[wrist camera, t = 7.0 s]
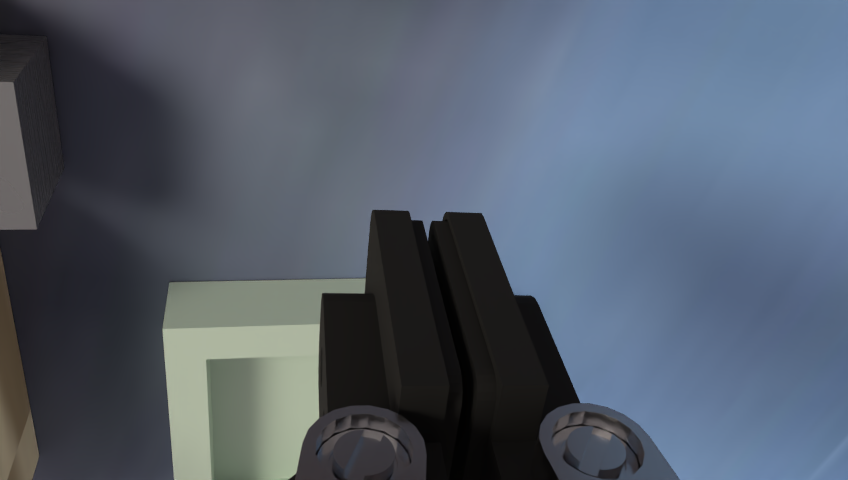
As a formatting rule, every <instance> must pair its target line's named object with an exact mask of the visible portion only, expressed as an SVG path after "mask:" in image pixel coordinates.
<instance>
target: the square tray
mask: <svg viewBox="0 0 848 480" xmlns="http://www.w3.org/2000/svg"><path fill="white" fill-rule="evenodd" d="M365 282H366V278H362V279H311V280H260V281H209V282H169V288H168V295H167V302H166V309H165V315H164V322H163V342H164V355H165V368H166V381H167V394H168V407H169V420H170V433H171V446H172V459H173V472H174V480H288V479H290V478H291V477H292V476H294V475H295V474H296V472H297V467H298V462H299V457H300V452H301V447H302V443H303V440H304V438H305V436H306V433H307V431H308V429H309V428H310V427H311V426H312V425H313V424H314V423H315V422H316V421H317V420H318V419H319V388H318V365H319V332H320V312H321V298H322V293H365Z"/></svg>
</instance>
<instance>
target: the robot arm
mask: <svg viewBox="0 0 848 480" xmlns="http://www.w3.org/2000/svg"><path fill="white" fill-rule="evenodd" d="M318 388H319V419H318V420H317V421H316V422H315V423H314V424H313V425H312V426H311V427H310V428H309V429H308V431H307V433H306V436H305V438H304V440H303V443H302V447H301V452H300V457H299V462H298V467H297V472H296V474H295V475H294V476H292V477H291V478H290V479H288V480H680V479H679V478H678V476H677V475H676V473H675V472H674V471H673V469H672V468H671V466H670V465H669V463H668V462H667V461H666V459H665V458H664V456H663V455H662V453H661V452H660V451H659V449H658V448H657V446H656V445H655V444H654V442H653V441H652V439H651V438H650V436H649V435H648V434H647V433H646V432H645V431H644V430H643V429H642V428H641V427H640V426H639V424H637V423H636V422H634V421H633V420H631V419H630V418H628V417H627V416H626V415H624V414H622V413H620V412H617V411H615V410H613V409H610V408H608V407H604V406H599V405H595V404H590V403H580V401H579V399H578V397H577V394H576V392H575V389H574V387H573V385H572V382H571V380H570V378H569V375H568V373H567V371H566V368H565V366H564V364H563V361H562V359H561V357H560V354H559V352H558V349H557V347H556V345H555V342H554V340H553V338H552V335H551V333H550V331H549V328H548V326H547V324H546V321H545V319H544V317H543V314H542V312H541V309H540V307H539V305H538V303H537V301H536V299H535V298H534V297H532V296H519V295H514V294H513V292H512V289H511V286H510V284H509V281H508V279H507V276H506V273H505V271H504V268H503V266H502V263H501V261H500V258H499V255H498V253H497V250H496V248H495V245H494V243H493V240H492V237H491V235H490V232H489V230H488V227H487V224H486V222H485V219H484V217H483V215H482V213H460V212H446V213H445V214H444V217H443V221H432V222H431V225H430V230H429V238H428V240H427V236H426V232H425V229H424V225H423V222H422V221H418V220H411V217H410V213H409V211H394V210H373V211H372V215H371V222H370V234H369V246H368V258H367V270H366V282H365V293H322V298H321V312H320V332H319V365H318Z"/></svg>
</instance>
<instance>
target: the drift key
mask: <svg viewBox="0 0 848 480" xmlns="http://www.w3.org/2000/svg"><path fill="white" fill-rule="evenodd" d="M63 170H64V163H63V155H62V148H61V140H60V133H59V126H58V118H57V111H56V103H55V96H54V89H53V81H52V74H51V66H50V59H49V52H48V44H47V37H46V36H28V35H4V34H0V230H27V229H37V228H38V226H39V224H40V221H41V219H42V217H43V215H44V212H45V210H46V208H47V206H48V203H49V201H50V199H51V197H52V194H53V192H54V190H55V188H56V185H57V183H58V181H59V179H60V176H61V174H62V172H63Z"/></svg>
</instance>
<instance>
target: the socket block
mask: <svg viewBox="0 0 848 480" xmlns="http://www.w3.org/2000/svg"><path fill="white" fill-rule="evenodd" d="M38 459H39V451H38V446H37V441H36V436H35V430H34V425H33V420H32V414H31V409H30V404H29V398H28V393H27V388H26V383H25V377H24V372H23V367H22V361H21V356H20V351H19V345H18V340H17V335H16V330H15V324H14V319H13V314H12V308H11V303H10V298H9V292H8V287H7V282H6V277H5V271H4V266H3V261H2V255H1V250H0V480H32V479H33V475H34V472H35V469H36V465H37V462H38Z"/></svg>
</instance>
